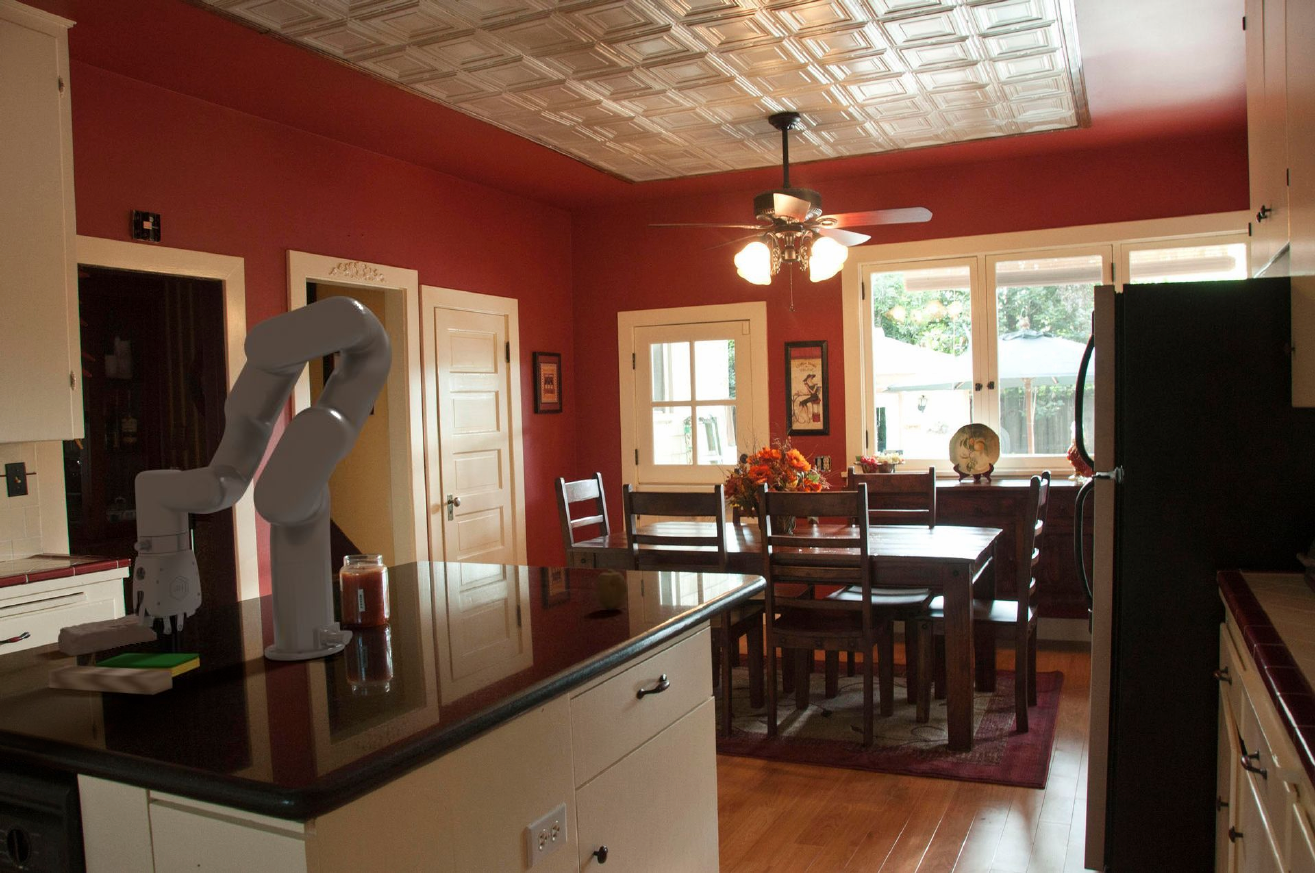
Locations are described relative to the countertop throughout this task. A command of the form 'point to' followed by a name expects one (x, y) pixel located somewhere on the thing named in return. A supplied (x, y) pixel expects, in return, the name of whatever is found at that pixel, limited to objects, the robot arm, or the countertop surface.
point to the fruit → (611, 590)
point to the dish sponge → (153, 662)
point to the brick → (103, 635)
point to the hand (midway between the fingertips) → (169, 656)
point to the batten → (110, 679)
